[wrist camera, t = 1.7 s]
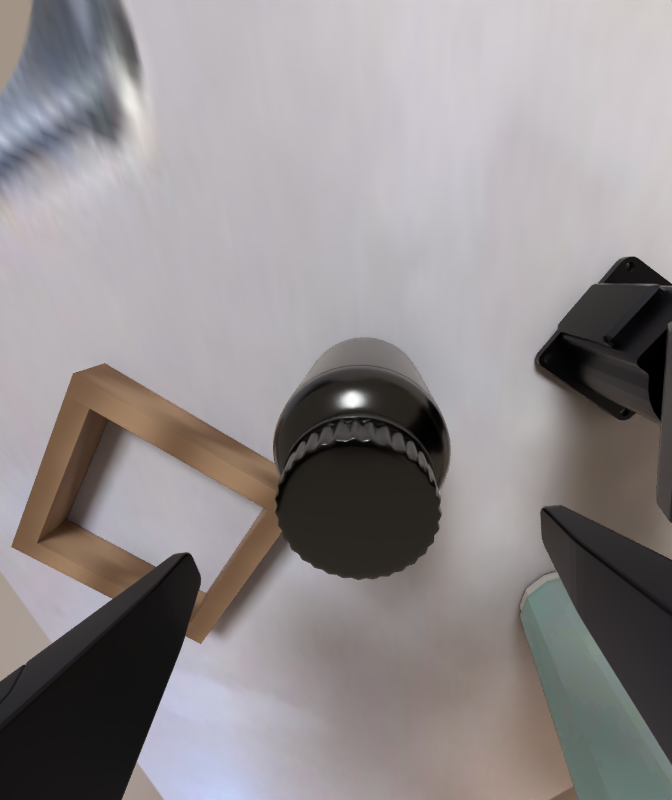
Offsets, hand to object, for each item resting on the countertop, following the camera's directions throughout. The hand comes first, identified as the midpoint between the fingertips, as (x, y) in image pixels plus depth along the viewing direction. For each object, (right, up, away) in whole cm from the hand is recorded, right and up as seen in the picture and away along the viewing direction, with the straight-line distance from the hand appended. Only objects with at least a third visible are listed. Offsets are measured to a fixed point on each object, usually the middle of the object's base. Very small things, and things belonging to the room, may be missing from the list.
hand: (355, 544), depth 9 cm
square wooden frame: (-13, -4, +16) cm, 21 cm away
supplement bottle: (+1, +4, +12) cm, 13 cm away
